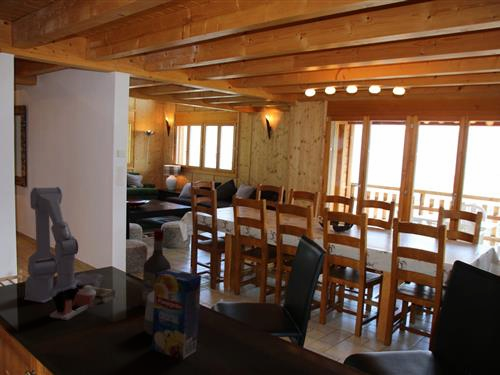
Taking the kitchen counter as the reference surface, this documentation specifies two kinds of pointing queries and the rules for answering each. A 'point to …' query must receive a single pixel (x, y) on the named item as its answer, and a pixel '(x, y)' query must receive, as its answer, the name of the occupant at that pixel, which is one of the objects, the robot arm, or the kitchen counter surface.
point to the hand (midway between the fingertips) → (64, 309)
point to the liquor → (154, 266)
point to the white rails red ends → (79, 300)
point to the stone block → (89, 279)
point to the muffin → (89, 290)
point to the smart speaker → (149, 314)
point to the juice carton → (176, 313)
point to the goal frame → (104, 293)
